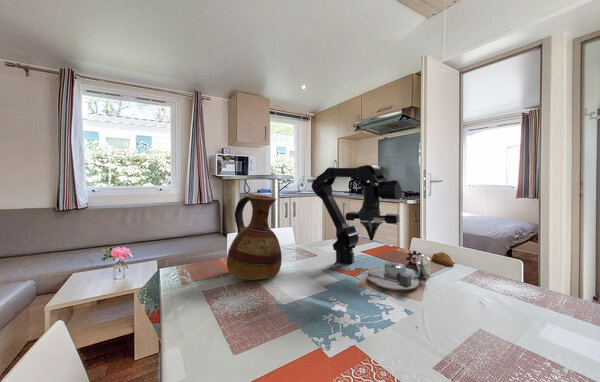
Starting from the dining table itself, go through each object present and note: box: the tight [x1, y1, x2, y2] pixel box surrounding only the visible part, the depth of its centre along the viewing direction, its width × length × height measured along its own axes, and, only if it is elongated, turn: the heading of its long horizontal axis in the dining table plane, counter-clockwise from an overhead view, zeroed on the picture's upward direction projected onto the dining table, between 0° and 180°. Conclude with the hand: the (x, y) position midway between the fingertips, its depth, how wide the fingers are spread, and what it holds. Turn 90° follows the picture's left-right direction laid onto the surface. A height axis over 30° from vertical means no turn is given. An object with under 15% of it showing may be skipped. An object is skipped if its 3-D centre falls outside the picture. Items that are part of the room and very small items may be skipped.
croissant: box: [431, 251, 454, 268], centre depth 98 cm, size 14×7×5 cm, turn 176°
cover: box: [384, 261, 407, 282], centre depth 77 cm, size 7×7×4 cm
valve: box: [405, 250, 431, 276], centre depth 89 cm, size 7×7×12 cm
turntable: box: [367, 267, 419, 291], centre depth 79 cm, size 16×16×5 cm
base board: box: [354, 267, 427, 302], centre depth 79 cm, size 19×19×1 cm
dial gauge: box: [414, 254, 429, 281], centre depth 81 cm, size 4×3×8 cm
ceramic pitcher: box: [226, 193, 283, 280], centre depth 88 cm, size 20×20×30 cm
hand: (371, 240), depth 90 cm, fingers closed
